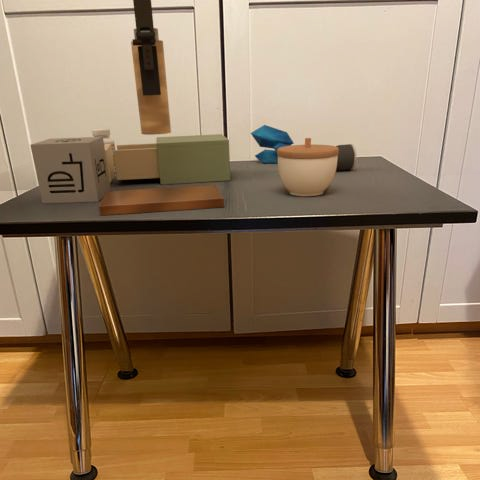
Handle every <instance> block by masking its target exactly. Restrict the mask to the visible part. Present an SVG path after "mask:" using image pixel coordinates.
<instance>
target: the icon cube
mask: <svg viewBox="0 0 480 480" xmlns="http://www.w3.org/2000/svg"><path fill="white" fill-rule="evenodd" d="M29 146H30V151H31V155H32V160H33V164H34V169H35V174H36V179H37V182H38V188H39V192H40V197H41V202H42V204H68V203H69V204H70V203H94V202H97V203H98V202H101V201H102V199H103V197H104V195H105V193H106V191H112V188H111V183H110V181H109V174H108V168H107V161H106V154H105V147H104V141H103V137H94V136H85V137H83V136H82V137H59V138H58V137H55V138H54V137H53V138H47V139H45V140H42V141H41V140H40V141H37V142H34V143H31V144H30V145H29Z"/></svg>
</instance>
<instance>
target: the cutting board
mask: <svg viewBox="0 0 480 480" xmlns="http://www.w3.org/2000/svg"><path fill="white" fill-rule="evenodd" d="M220 208H225V198H224V196H223V195H222V193H221V191H220V189H219V188H218V186H217V185H216V184H208V185H207V184H206V185H191V186H189V185H188V186H174V187H159V188H158V187H157V188H141V189H124V190H111V191H106V193H105V195H104V197H103V198H102V199H101V200H100V203H99V205H98V210H99V215H100V216H114V215H128V214H142V213H143V214H144V213H157V212H158V213H160V212H174V211H175V212H176V211H189V210H204V209H220Z"/></svg>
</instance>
